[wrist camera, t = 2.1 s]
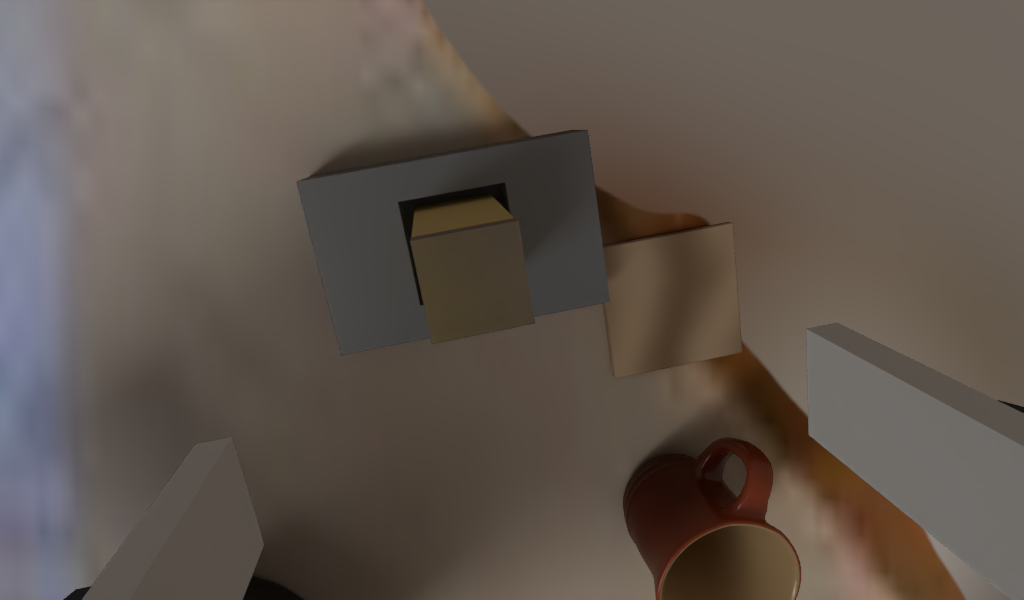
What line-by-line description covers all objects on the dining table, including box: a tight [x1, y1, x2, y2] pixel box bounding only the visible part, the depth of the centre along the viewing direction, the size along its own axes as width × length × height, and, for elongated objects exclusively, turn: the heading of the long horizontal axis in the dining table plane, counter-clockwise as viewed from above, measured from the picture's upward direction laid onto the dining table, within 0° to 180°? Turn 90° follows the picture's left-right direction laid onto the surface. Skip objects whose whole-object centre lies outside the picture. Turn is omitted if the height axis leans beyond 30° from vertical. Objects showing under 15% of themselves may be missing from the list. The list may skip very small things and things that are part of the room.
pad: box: [603, 222, 742, 379], centre depth 43 cm, size 9×9×1 cm
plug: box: [410, 193, 535, 344], centre depth 34 cm, size 5×4×13 cm
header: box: [297, 130, 610, 356], centre depth 38 cm, size 16×10×4 cm, turn 100°
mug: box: [623, 438, 801, 600], centre depth 42 cm, size 12×9×10 cm
